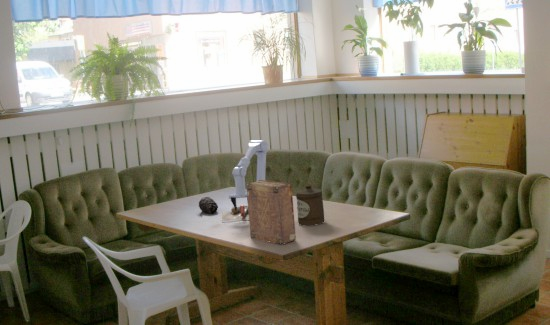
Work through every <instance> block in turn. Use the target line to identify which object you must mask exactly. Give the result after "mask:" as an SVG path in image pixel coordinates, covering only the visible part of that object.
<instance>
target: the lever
mask: <svg viewBox="0 0 550 325" xmlns="http://www.w3.org/2000/svg"><path fill="white" fill-rule="evenodd" d="M239 207H240V212H241V216H245V214H246V212H247V211H248V205H244V204H243V205H239Z"/></svg>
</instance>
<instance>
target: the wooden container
mask: <svg viewBox="0 0 550 325" xmlns="http://www.w3.org/2000/svg"><path fill="white" fill-rule="evenodd" d="M295 197H296V210H297V211H296V212H297V222H298V223H299V224H298V225H300V224H301V225H300V226H303V225H313V226H316V225H315V224H319V225H321V224H320V223H322V222H324V221H325V220H326V219H325V209H324V202H323V201H324V200H323V191H322V189H320V188H312V184H310V183H307V184H305V188H304V189H298V190H297V191H296V192H295ZM324 223H325V222H324ZM322 224H323V223H322Z"/></svg>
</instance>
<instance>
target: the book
mask: <svg viewBox="0 0 550 325" xmlns="http://www.w3.org/2000/svg"><path fill="white" fill-rule="evenodd" d="M256 181H257V180H256ZM256 181H254V182H253V181H252V182H245V188H246V193H247V197H246V199H247V200H246V201H248V202H247V206H248V212H249V219H248V221H249V222H248V223H249V233H250V238H251V239H252V238H253V239H254V240H257V239H258V241H262V240H264V241H263V242H267V241H270V242H269V243H272V242H275V243H274V244H276V243H281V244H283V245H285V244H284V243H286V244H288V243H287V242H290V241H293V240H297V238H296V228H295V225H296V224H295V212H294V200H293V185H292V183H288V182H281V181H272V180H266V179H265V180H258V181H257V182H256ZM293 242H294V241H293ZM290 243H291V242H290ZM281 244H280V245H281Z"/></svg>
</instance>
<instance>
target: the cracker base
mask: <svg viewBox="0 0 550 325" xmlns="http://www.w3.org/2000/svg"><path fill="white" fill-rule="evenodd" d="M237 209H238V212H237V213H236V214H235V213H232V211H231V210H230V211H224V212H222V211H221V222H222V223H226V222H230V223H233V222H234V223H235V222H237V221H240V222H244V221H247V220H249V212H248V211H247V212H246V214H245V216H241V212H240V206H237Z"/></svg>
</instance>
